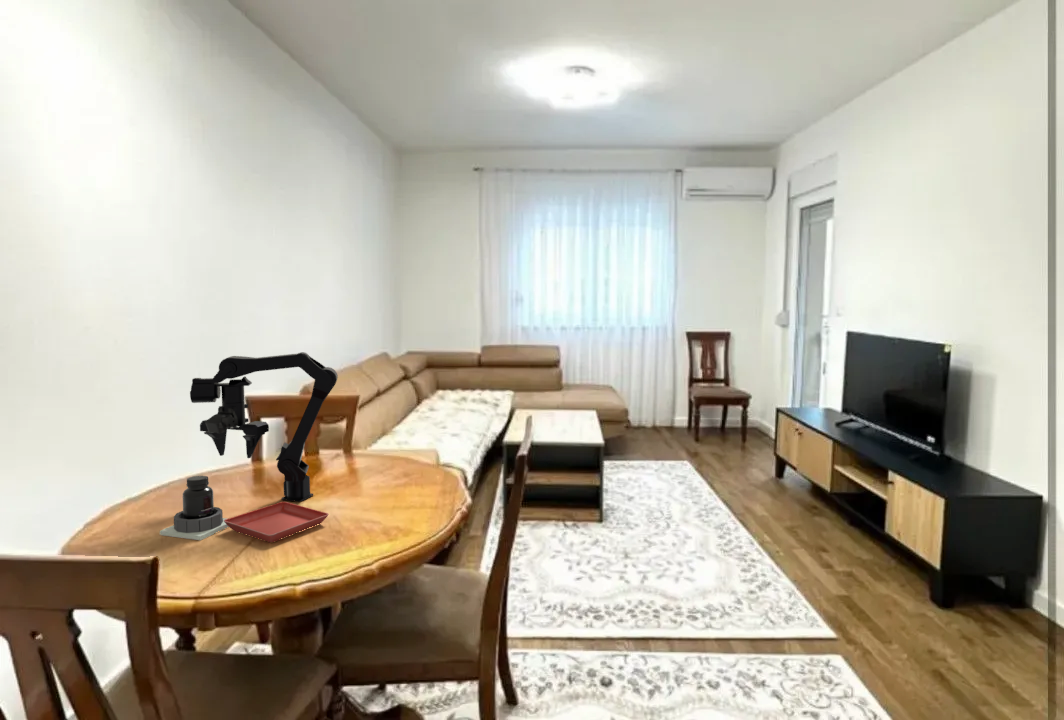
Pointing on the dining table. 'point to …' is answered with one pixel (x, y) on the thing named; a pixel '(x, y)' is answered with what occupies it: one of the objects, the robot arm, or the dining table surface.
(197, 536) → the board
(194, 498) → the supplement bottle
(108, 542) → the dining table surface
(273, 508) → the plant saucer
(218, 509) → the collar
